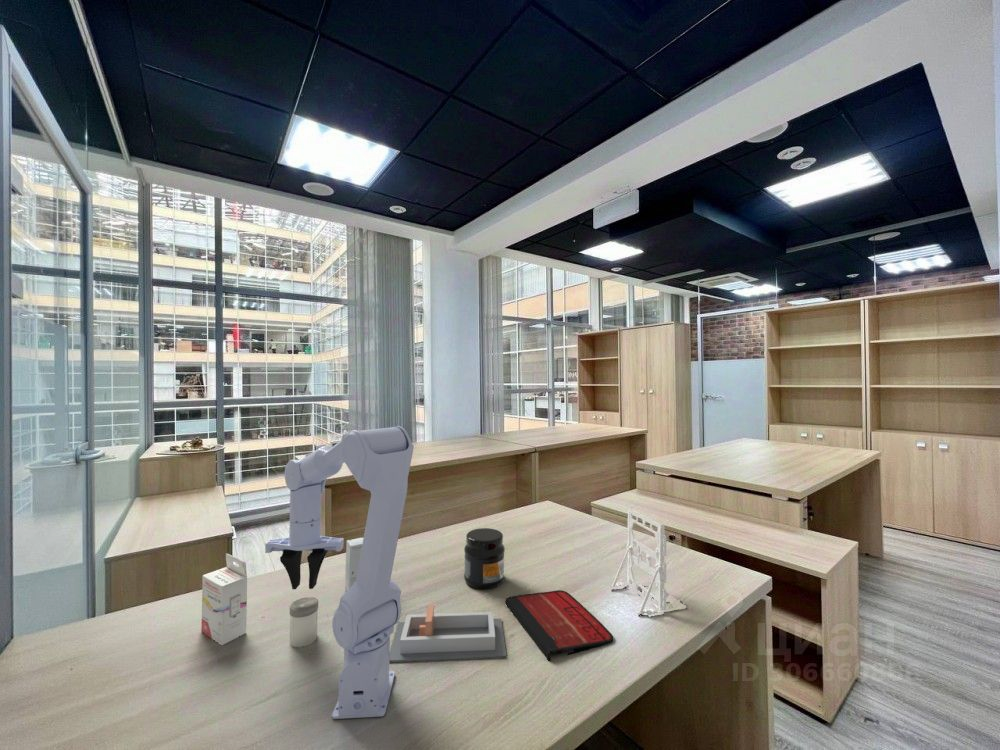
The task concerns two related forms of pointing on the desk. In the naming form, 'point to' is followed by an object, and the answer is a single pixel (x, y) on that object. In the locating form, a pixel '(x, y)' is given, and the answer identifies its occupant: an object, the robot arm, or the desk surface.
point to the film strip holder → (658, 555)
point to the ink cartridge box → (225, 601)
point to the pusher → (428, 623)
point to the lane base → (449, 638)
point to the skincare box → (352, 560)
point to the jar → (303, 621)
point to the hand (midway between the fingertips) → (304, 586)
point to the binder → (558, 622)
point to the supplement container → (484, 558)
